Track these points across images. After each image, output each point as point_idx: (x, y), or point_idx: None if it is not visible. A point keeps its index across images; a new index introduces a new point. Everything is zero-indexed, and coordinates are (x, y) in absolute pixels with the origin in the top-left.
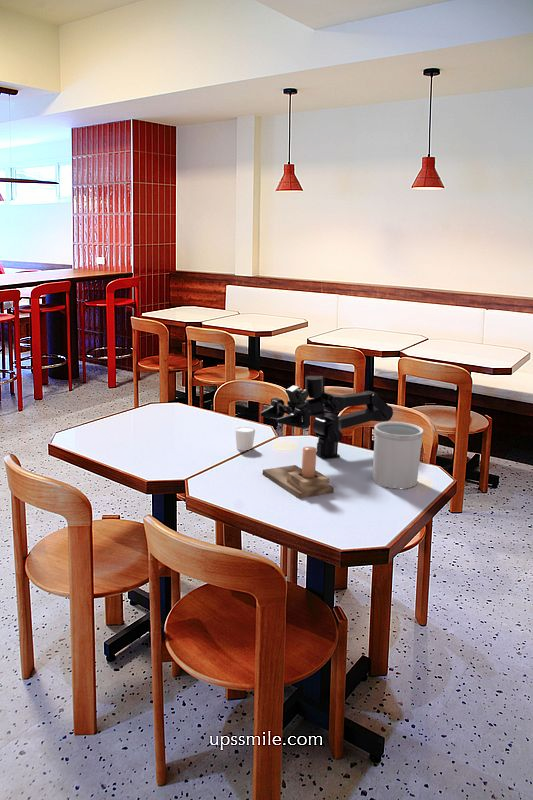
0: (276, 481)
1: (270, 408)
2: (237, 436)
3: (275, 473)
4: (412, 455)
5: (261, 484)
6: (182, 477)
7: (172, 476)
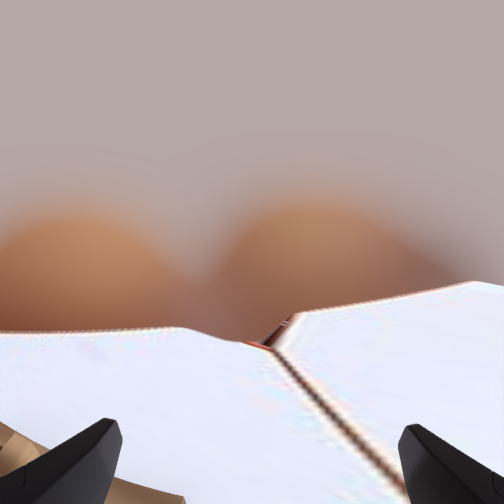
0: None
1: (476, 499)
2: None
3: (120, 500)
4: None
5: None
6: (288, 349)
7: (303, 340)
